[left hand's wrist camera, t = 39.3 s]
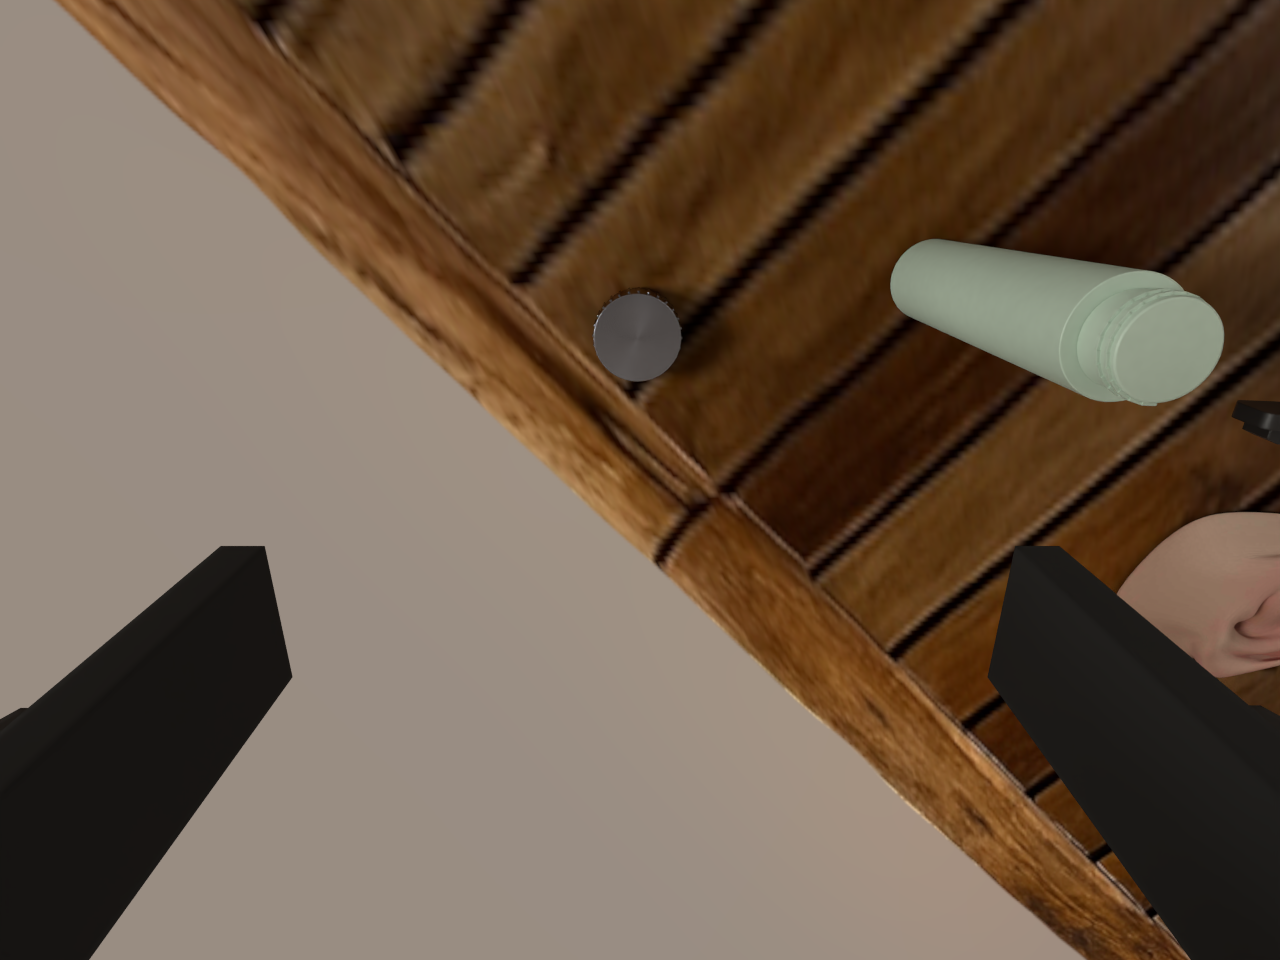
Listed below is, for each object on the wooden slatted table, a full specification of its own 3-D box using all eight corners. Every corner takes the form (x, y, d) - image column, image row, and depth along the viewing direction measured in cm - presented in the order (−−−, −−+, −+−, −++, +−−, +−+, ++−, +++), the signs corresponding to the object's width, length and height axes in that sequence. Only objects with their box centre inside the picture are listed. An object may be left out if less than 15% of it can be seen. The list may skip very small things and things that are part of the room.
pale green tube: (898, 236, 39) (1120, 273, 21) (977, 241, 39) (1266, 282, 21) (884, 317, 41) (1079, 416, 23) (959, 321, 41) (1215, 423, 23)
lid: (672, 378, 42) (674, 388, 40) (589, 366, 42) (587, 376, 40) (686, 293, 40) (689, 299, 38) (600, 280, 40) (598, 285, 38)
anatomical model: (1126, 676, 45) (1225, 510, 41) (1089, 639, 48) (1176, 484, 44) (1317, 718, 46) (1432, 561, 42) (1267, 679, 50) (1367, 531, 45)
